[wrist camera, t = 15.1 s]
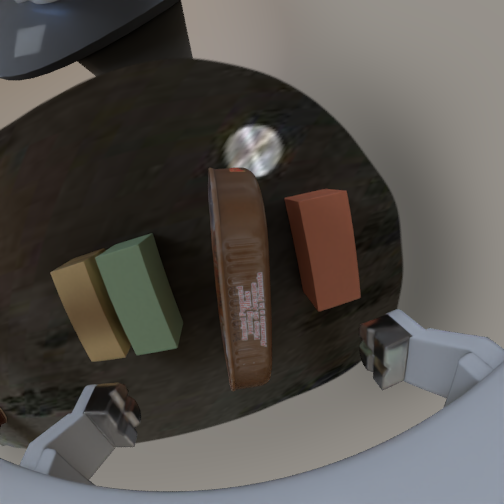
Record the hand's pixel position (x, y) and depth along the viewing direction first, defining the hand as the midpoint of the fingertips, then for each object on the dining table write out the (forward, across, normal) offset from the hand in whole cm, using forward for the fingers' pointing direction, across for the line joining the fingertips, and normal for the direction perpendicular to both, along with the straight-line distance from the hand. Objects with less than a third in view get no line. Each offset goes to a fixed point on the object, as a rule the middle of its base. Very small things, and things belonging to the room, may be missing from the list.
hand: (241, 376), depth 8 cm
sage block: (+14, +7, +1) cm, 16 cm away
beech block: (+14, +11, +1) cm, 18 cm away
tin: (+14, 0, +1) cm, 14 cm away
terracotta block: (+14, -7, +1) cm, 16 cm away
